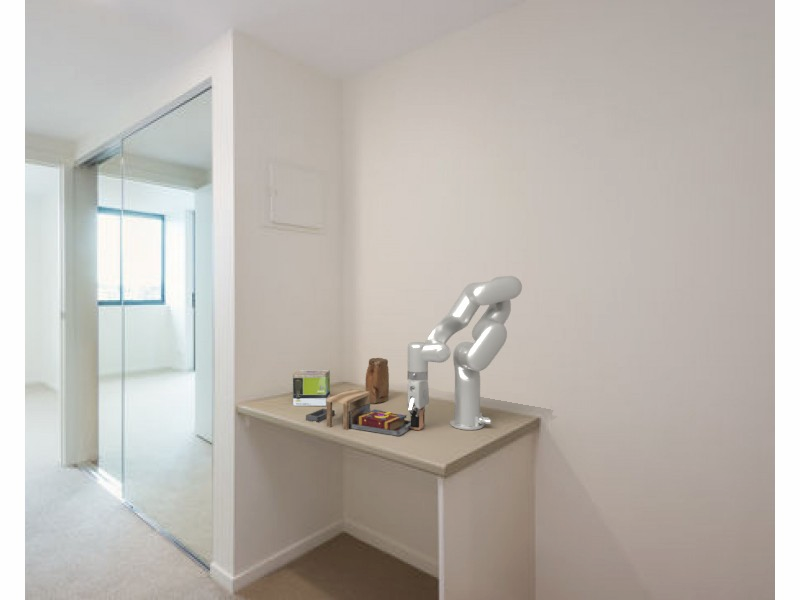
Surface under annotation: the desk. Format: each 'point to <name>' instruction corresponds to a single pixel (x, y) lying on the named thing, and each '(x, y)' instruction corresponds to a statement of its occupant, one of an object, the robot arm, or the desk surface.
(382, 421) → the decorative book
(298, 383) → the tea box
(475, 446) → the desk surface
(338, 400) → the wooden arch stand
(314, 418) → the gray frame
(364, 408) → the tray
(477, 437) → the desk surface
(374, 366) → the block
